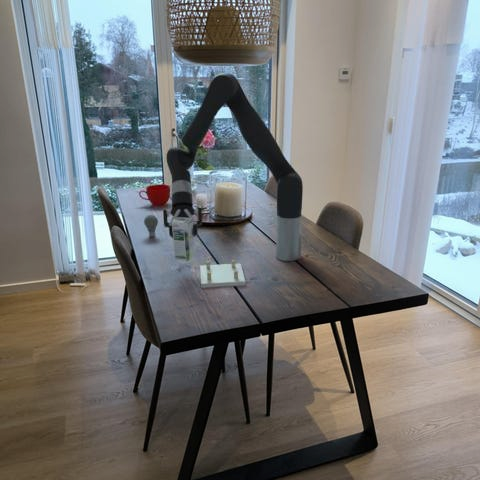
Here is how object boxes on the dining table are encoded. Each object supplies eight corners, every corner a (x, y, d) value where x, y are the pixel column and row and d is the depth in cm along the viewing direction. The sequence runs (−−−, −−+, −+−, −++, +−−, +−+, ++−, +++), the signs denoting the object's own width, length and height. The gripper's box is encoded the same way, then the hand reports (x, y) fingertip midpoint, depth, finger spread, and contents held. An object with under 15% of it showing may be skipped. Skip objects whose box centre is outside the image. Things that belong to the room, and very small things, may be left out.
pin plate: (240, 267, 163) (240, 257, 162) (245, 285, 149) (245, 274, 148) (200, 269, 162) (199, 259, 160) (201, 287, 148) (200, 277, 146)
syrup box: (174, 259, 155) (170, 221, 150) (181, 253, 160) (178, 215, 155) (188, 261, 153) (186, 222, 148) (195, 255, 159) (193, 217, 153)
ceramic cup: (139, 203, 244) (137, 186, 240) (169, 200, 249) (168, 183, 245) (141, 209, 232) (139, 191, 229) (173, 206, 237) (171, 189, 234)
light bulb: (145, 239, 191) (143, 217, 187) (144, 234, 196) (143, 213, 193) (159, 238, 192) (158, 216, 189) (158, 233, 198) (156, 212, 194)
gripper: (161, 191, 156) (161, 233, 149) (201, 189, 157) (203, 230, 150) (163, 201, 163) (164, 241, 156) (201, 199, 164) (204, 239, 157)
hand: (183, 236), depth 153 cm, fingers closed on syrup box, 7 cm apart
